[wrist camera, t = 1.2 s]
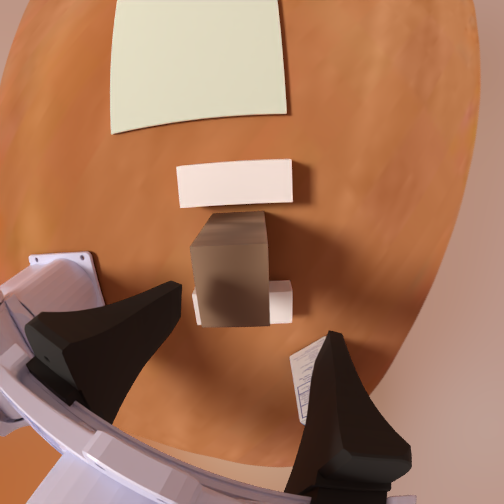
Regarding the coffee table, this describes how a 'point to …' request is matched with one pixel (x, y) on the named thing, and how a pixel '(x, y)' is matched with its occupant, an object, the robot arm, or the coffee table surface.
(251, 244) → the walnut block
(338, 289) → the coffee table surface
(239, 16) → the mat
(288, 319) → the slot blocks
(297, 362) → the medicine box
